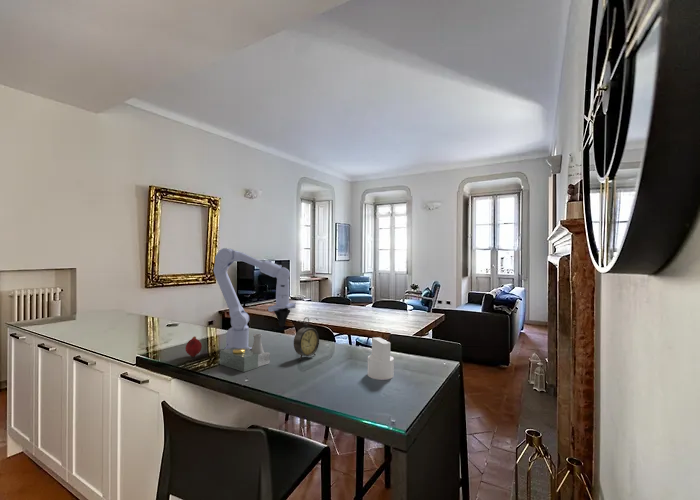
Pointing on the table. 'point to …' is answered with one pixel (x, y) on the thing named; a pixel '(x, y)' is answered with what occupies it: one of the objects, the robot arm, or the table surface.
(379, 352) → the base with upright slab
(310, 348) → the alarm clock
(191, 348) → the onion
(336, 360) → the table surface
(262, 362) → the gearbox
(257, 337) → the flask
